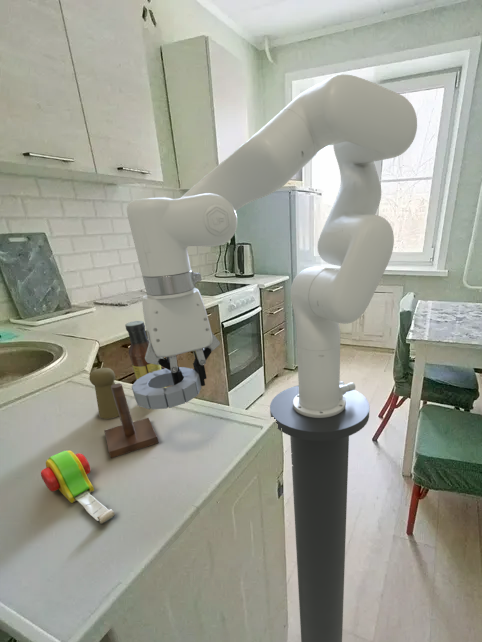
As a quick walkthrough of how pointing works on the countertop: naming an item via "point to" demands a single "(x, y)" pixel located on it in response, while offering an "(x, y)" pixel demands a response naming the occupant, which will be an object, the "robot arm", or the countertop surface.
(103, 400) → the cork
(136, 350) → the sauce bottle
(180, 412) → the countertop surface
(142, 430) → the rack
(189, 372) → the segmented block ring
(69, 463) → the toy measuring tape
